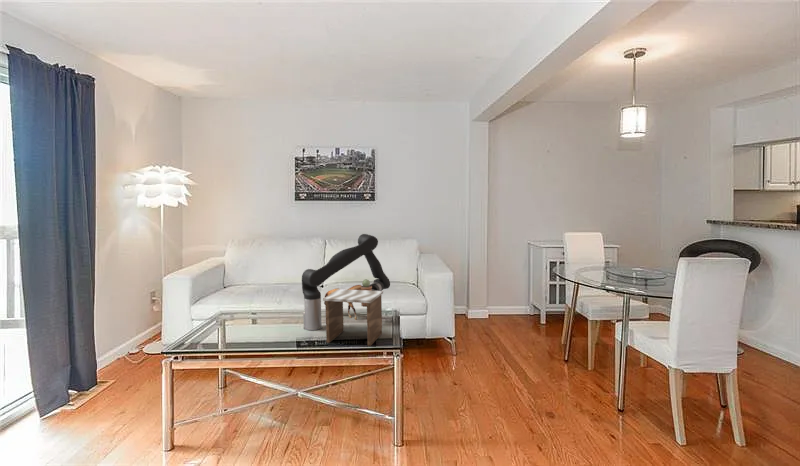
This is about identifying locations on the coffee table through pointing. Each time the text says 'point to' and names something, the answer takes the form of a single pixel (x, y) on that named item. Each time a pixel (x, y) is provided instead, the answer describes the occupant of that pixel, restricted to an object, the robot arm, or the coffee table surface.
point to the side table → (361, 296)
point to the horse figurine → (356, 287)
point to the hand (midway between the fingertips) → (365, 296)
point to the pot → (365, 287)
